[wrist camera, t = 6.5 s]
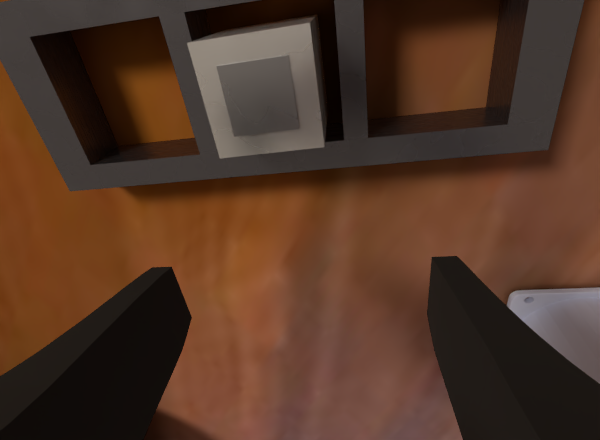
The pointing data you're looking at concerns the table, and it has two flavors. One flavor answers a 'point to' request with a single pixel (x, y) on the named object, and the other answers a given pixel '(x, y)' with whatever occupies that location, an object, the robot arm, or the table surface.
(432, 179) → the table surface
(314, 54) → the block
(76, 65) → the rack rail
